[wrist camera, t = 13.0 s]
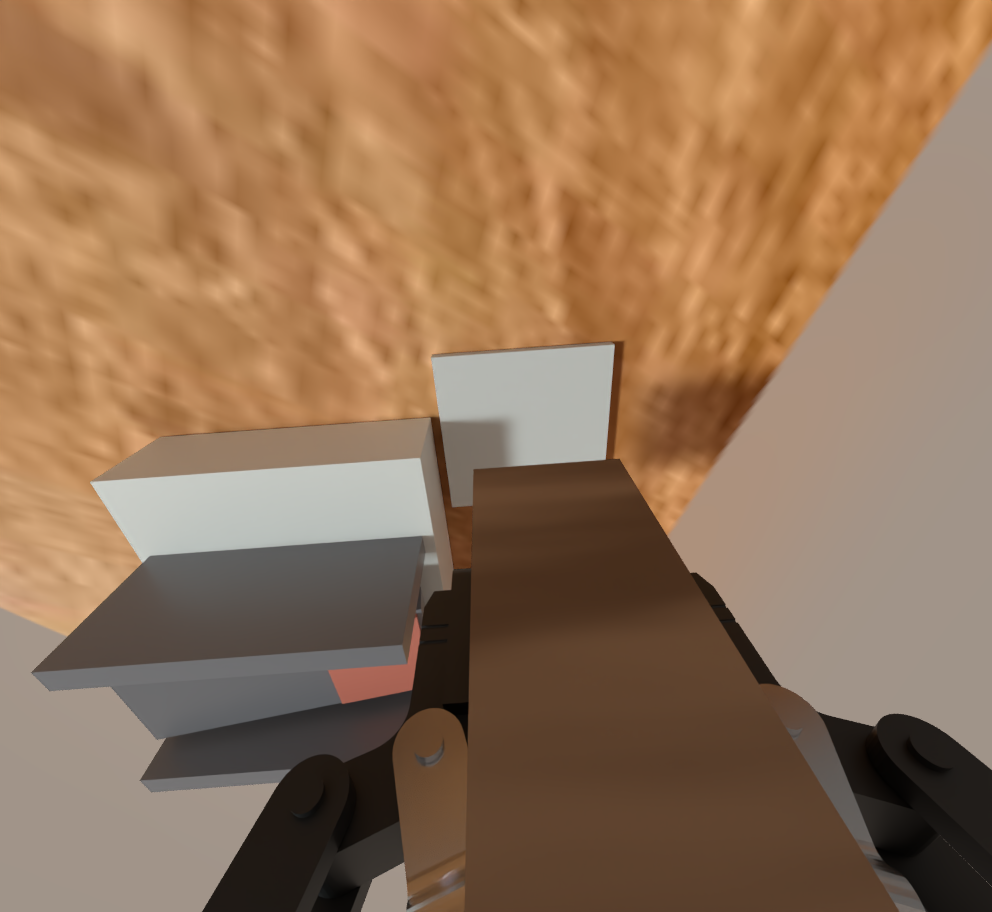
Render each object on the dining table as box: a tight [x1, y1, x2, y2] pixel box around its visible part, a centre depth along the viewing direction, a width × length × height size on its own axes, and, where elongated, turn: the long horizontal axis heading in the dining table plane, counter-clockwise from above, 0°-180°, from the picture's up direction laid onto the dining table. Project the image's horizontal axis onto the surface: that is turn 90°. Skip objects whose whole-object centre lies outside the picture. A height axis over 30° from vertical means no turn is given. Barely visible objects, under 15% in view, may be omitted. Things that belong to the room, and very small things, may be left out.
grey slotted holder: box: [31, 417, 454, 792], centre depth 19 cm, size 16×13×9 cm
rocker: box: [110, 587, 425, 740], centre depth 17 cm, size 5×12×1 cm, turn 93°
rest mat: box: [431, 342, 615, 507], centre depth 20 cm, size 8×8×1 cm
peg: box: [464, 459, 899, 912], centre depth 8 cm, size 4×4×12 cm
